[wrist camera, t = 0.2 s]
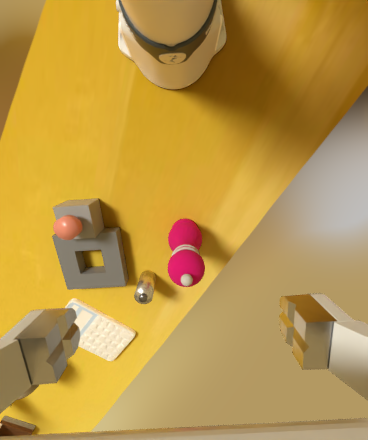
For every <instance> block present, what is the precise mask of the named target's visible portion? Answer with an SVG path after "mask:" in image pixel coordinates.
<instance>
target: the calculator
mask: <svg viewBox="0 0 368 440" xmlns="http://www.w3.org/2000/svg"><path fill="white" fill-rule="evenodd" d="M65 308H73V309H74V310H75V312H76V315H77V318H76V320H75V322H74V323H75V324H76V325H77V326H78V327H79V330H80V341H79V345H78V346H80V347H82V348H84V349H86V350H88V351H90V352H92V353H94V354H96V355H98V356H100V357H102V358H104V359H106V360H108V361H113V360H114V359H115V358H116V357H117V356H118V355H119V354H120V353H121V352H122V350H123V349H124V348H125V347H126V346H127V345H128V344H129V343H130V341H131V340H132V339H133V338H134V337H135V335H136V331H135V330H133V329H132V328H130V327H128V326H126V325H124V324H122V323H121V322H119V321H117V320H115V319H113V318H111V317H110V316H108V315H106V314H104V313H102V312H101V311H99V310H97V309H95V308H93V307H91V306H90V305H88V304H86V303H84V302H82V301H80V300H78V299H76V298H73V299H72V300H71V301H70V302H69V303H68V304H67V306H66V307H65Z"/></svg>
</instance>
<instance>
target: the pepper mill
mask: <svg viewBox="0 0 368 440" xmlns="http://www.w3.org/2000/svg"><path fill="white" fill-rule="evenodd" d="M168 241H169V245H170V248H171V250H172V251H173V253H172V257H171V258H170V260H169V263H168V273H169V276H170V278H171V279H172V281H173V282H174V283H176V284H177V285H179V286H183V287H190V286H193V285H195V284H197V283H198V282H199V281H200V280H201V279H202V277H203V275H204V271H205V265H204V261H203V259H202V257H201V256H200V254H199V251H198V250H199V248H200V246H201V244H202V234H201V232H200V230H199V229H198V227H197V225H196V224H195V222H193V221H192V220H190V219H180V220H178V221H177V222H175V223H174V225H173V227H172V229H171V231H170V233H169V237H168Z"/></svg>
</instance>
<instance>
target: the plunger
mask: <svg viewBox="0 0 368 440" xmlns="http://www.w3.org/2000/svg"><path fill="white" fill-rule="evenodd" d="M81 231H82V223H81V221H80V220H79V219H78V218H77V217H75V216H73V215H65V216H63V217H61V218H60V219H58V220H57V221H56V222H55V223H54V232H55V233H56V235H57V236H58V237H59V238H61V239H64V240H72V239H74V238H75V237H76V236H77V235H79V234H80V233H81Z"/></svg>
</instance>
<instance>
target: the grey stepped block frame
mask: <svg viewBox="0 0 368 440" xmlns="http://www.w3.org/2000/svg"><path fill="white" fill-rule="evenodd" d="M53 210H54V213H55V217H56V221H57V220H58V219H60V218H61V217H63V216H65V215H73V216H75V217H77V218H78V219H79V220H80V221H81V223H82V231H81V233H80V234H79V235H77V236H76V237H75V238H74V239H72V240H64V239H61V238H59V237H58V236H57V235H56V234H54V235H53V236H52V237H53V241H54V244H55V248H56V251H57V255H58V258H59V261H60V265H61V268H62V272H63V275H64V279H65V282H66V285H67V289H85V288H102V287H119V286H126V284H127V282H128V279H129V278H128V272H127V266H126V261H125V255H124V249H123V243H122V238H121V232H120V227H114V228H104V223H103V218H102V213H101V207H100V202H99V199H84V200H68V201H65V202H63V203H61V204H59V205H57V206H55V207H53ZM88 250H101V252H102V256H103V261H104V266H100V267H86V265H85V261H84V257H83V253H82V251H88Z"/></svg>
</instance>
